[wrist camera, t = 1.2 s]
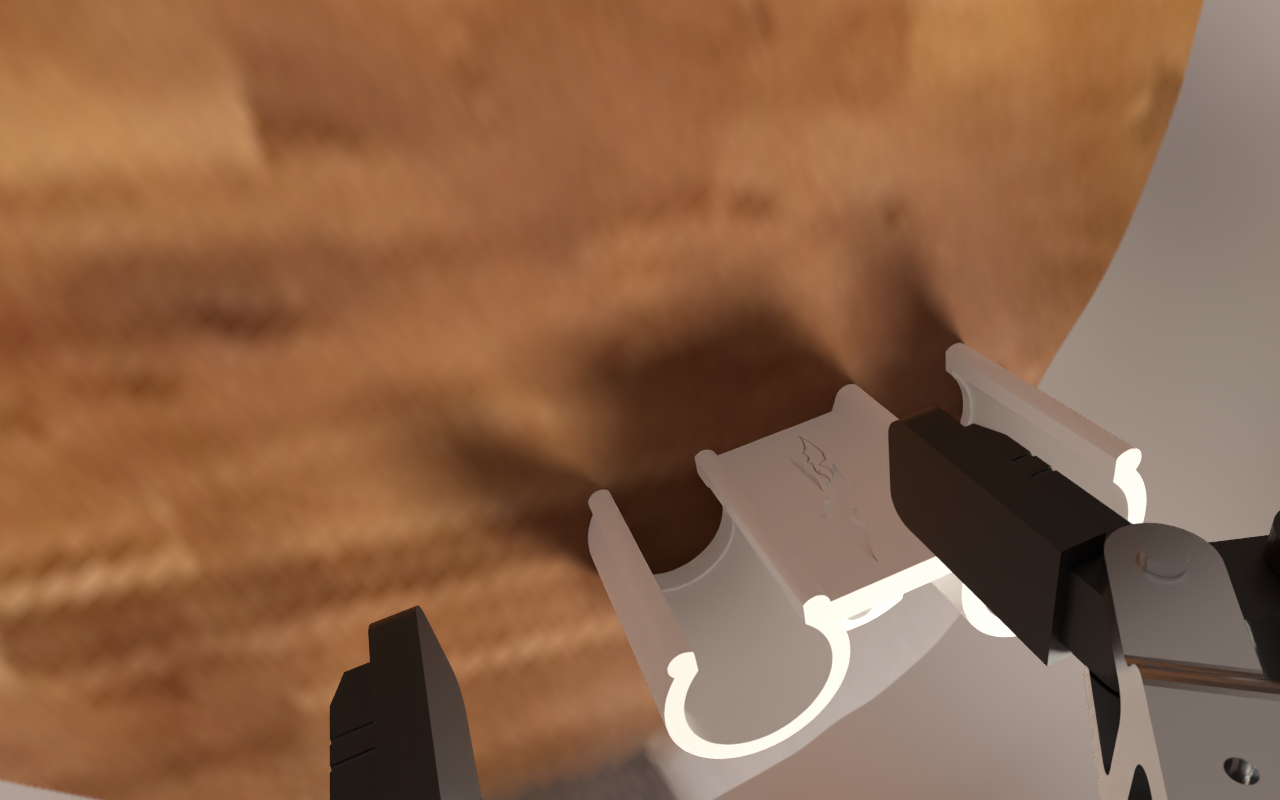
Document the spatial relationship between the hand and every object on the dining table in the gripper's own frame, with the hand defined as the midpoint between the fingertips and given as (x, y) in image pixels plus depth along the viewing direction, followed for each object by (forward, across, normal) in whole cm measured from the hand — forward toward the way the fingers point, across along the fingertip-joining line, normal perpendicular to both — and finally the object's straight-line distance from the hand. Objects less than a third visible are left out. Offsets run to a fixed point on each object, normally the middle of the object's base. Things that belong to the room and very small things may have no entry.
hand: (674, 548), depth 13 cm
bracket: (+24, -13, +21) cm, 35 cm away
